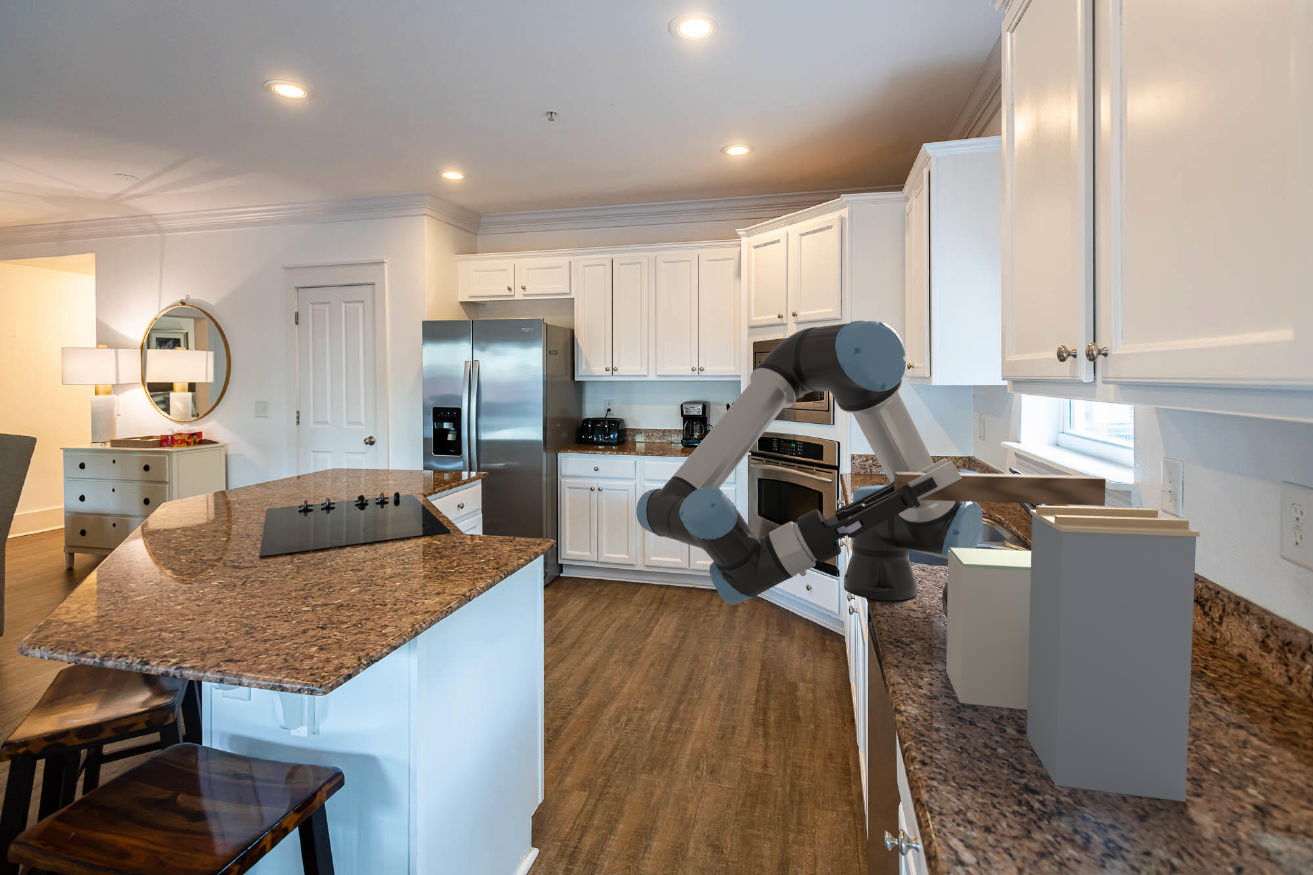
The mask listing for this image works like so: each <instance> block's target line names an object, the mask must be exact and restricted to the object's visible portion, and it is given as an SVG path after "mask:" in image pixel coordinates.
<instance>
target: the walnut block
mask: <svg viewBox="0 0 1313 875" xmlns="http://www.w3.org/2000/svg"><path fill="white" fill-rule="evenodd" d="M926 473H928V472H894V491H896V490H898V489H900V488H902V487H903V486H905V485H906V486H907V485H909V484H908V482H910V481H912V480H914V479H916V478H918V477H920V476H922V475H924V474H926ZM959 474H960V475H961V477H962V479H960V480H958V481H956V482H954V483H952V484H950V485H948V486H946V487H944V488H942V489H940V490H938V491H936V492H934V493H932V494H930V495H928V496H926V497H924V498H922V499H920V500H933V501H965V502H976V503H999V504H1001V503H1003V504H1032V505H1033V504H1034V505H1035V504H1036V505H1060V506H1063V505H1064V506H1091V507H1106V506H1105V505H1106V504H1105V502H1106V483H1107V482H1106V480H1107V479H1106V478H1104V477H1100V476H1096V475H1079V474H1078V475H1072V474H1070V475H1067V474H1029V473H1028V474H1027V473H1026V474H1025V473H1024V474H1023V473H1022V474H1021V473H977V472H975V473H974V472H959ZM917 500H918V499H917Z"/></svg>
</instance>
